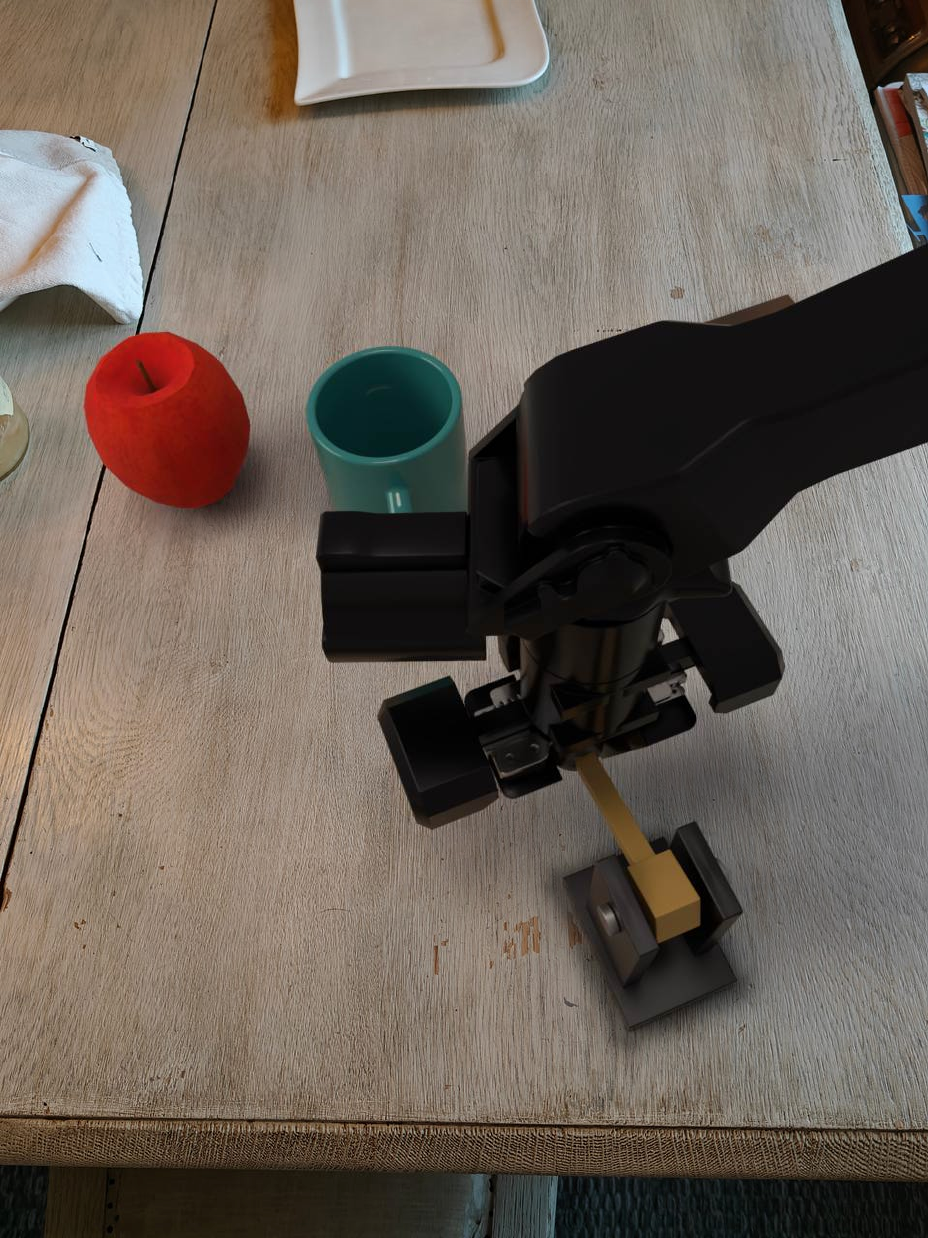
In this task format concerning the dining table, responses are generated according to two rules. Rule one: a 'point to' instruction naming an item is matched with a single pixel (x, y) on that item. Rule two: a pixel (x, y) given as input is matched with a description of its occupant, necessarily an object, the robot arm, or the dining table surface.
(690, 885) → the switch lever
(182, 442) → the apple
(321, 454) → the cup
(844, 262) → the dining table surface
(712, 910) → the switch bracket
